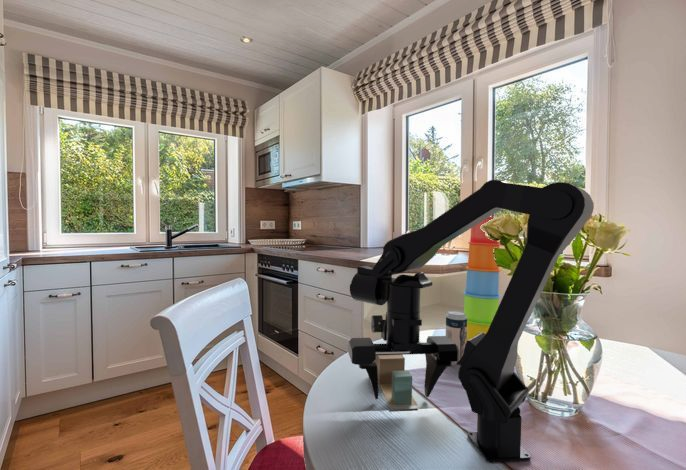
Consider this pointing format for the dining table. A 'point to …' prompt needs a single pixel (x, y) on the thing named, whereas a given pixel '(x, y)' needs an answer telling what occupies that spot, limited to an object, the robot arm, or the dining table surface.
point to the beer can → (457, 329)
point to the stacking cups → (481, 282)
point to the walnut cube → (388, 367)
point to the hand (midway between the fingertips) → (401, 396)
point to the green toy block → (399, 391)
